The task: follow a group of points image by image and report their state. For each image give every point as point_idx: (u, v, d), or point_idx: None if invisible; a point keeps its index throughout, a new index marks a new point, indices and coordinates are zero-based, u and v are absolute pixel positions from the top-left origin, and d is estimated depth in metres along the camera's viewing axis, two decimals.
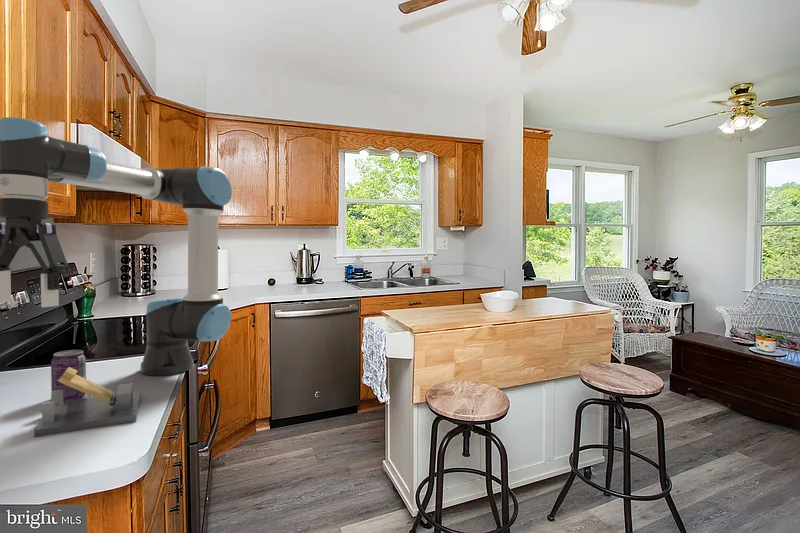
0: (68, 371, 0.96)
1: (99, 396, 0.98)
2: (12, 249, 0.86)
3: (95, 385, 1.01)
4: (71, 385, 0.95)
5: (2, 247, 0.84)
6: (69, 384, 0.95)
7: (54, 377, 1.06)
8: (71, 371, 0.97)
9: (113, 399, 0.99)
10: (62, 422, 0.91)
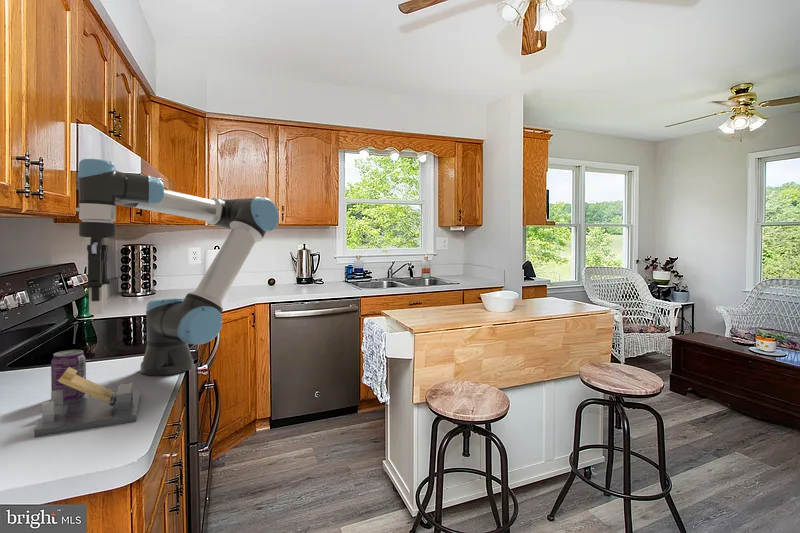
0: (68, 371, 0.96)
1: (99, 396, 0.98)
2: None
3: (95, 385, 1.01)
4: (71, 385, 0.95)
5: None
6: (69, 384, 0.95)
7: (54, 377, 1.06)
8: (71, 371, 0.97)
9: (113, 399, 0.99)
10: (62, 422, 0.91)
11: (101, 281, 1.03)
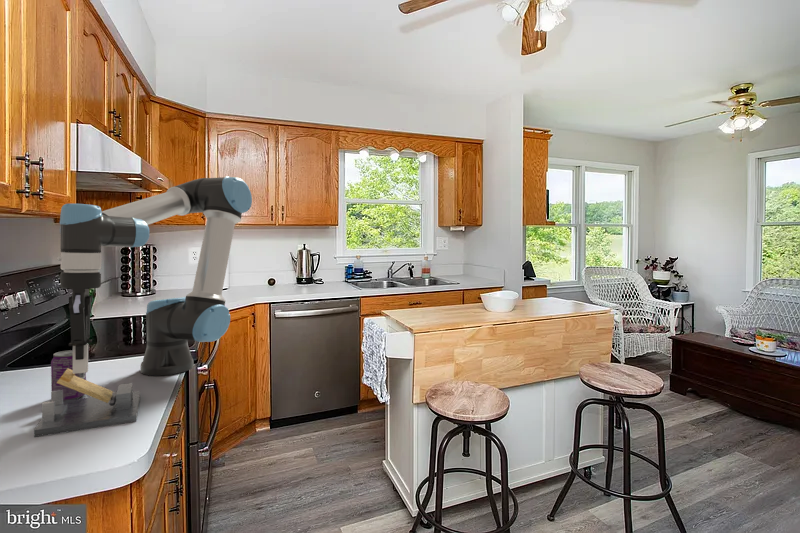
0: (67, 372, 0.96)
1: (99, 396, 0.98)
2: None
3: (95, 386, 1.01)
4: (70, 386, 0.95)
5: None
6: (68, 385, 0.95)
7: (54, 377, 1.06)
8: (70, 372, 0.97)
9: (113, 399, 0.99)
10: (62, 422, 0.91)
11: (86, 338, 0.97)
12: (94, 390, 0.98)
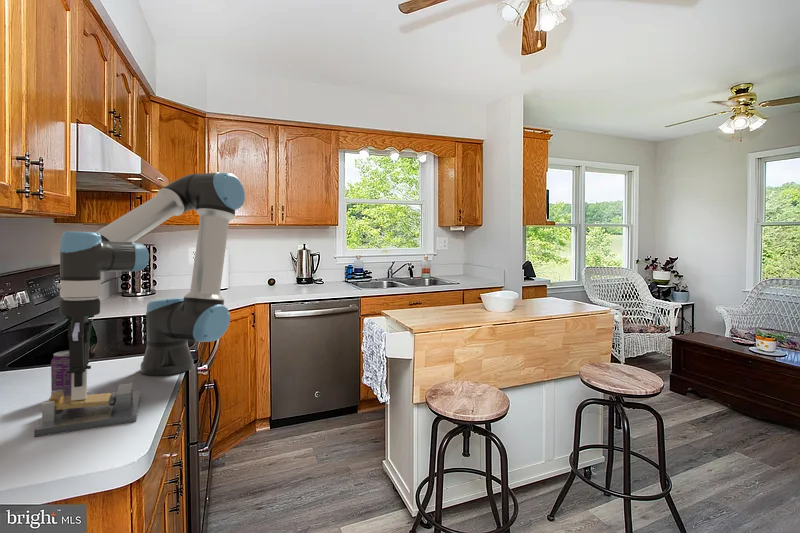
0: (52, 398, 0.95)
1: (96, 403, 0.97)
2: None
3: (89, 396, 1.00)
4: (62, 407, 0.94)
5: None
6: (60, 407, 0.94)
7: (54, 377, 1.06)
8: (56, 396, 0.96)
9: (111, 399, 0.99)
10: (62, 422, 0.91)
11: (85, 365, 0.97)
12: (89, 400, 0.98)
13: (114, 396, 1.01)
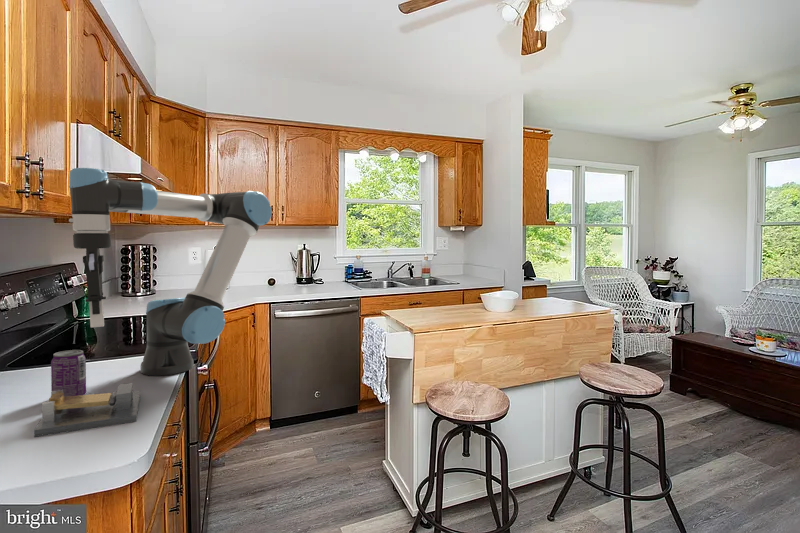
0: (52, 398, 0.95)
1: (96, 403, 0.97)
2: None
3: (89, 396, 1.00)
4: (62, 407, 0.94)
5: None
6: (60, 407, 0.94)
7: (54, 377, 1.06)
8: (56, 396, 0.96)
9: (111, 399, 0.99)
10: (62, 422, 0.91)
11: None
12: (89, 400, 0.98)
13: (114, 396, 1.01)
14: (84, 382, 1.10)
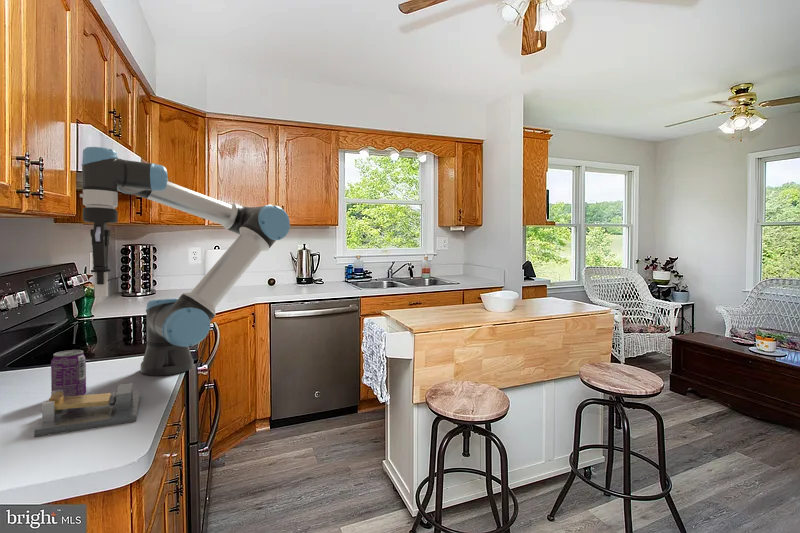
0: (52, 398, 0.95)
1: (96, 403, 0.97)
2: None
3: (89, 396, 1.00)
4: (62, 407, 0.94)
5: None
6: (60, 407, 0.94)
7: (54, 377, 1.06)
8: (56, 396, 0.96)
9: (111, 399, 0.99)
10: (62, 422, 0.91)
11: (105, 266, 1.11)
12: (89, 400, 0.98)
13: (114, 396, 1.01)
14: (84, 382, 1.10)
